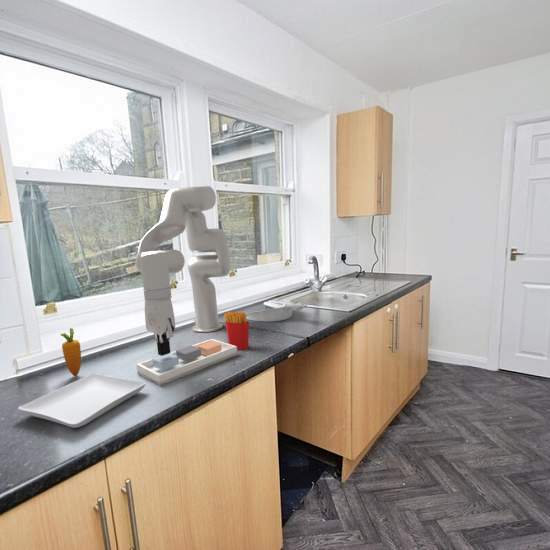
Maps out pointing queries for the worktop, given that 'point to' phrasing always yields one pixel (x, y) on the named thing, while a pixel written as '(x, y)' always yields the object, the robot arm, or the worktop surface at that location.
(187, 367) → the white rectangular tray
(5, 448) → the worktop surface
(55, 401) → the salad plate
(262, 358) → the worktop surface
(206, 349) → the terracotta key
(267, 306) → the frying pan
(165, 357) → the dusty blue key
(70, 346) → the carrot
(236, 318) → the french fries
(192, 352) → the charcoal key
